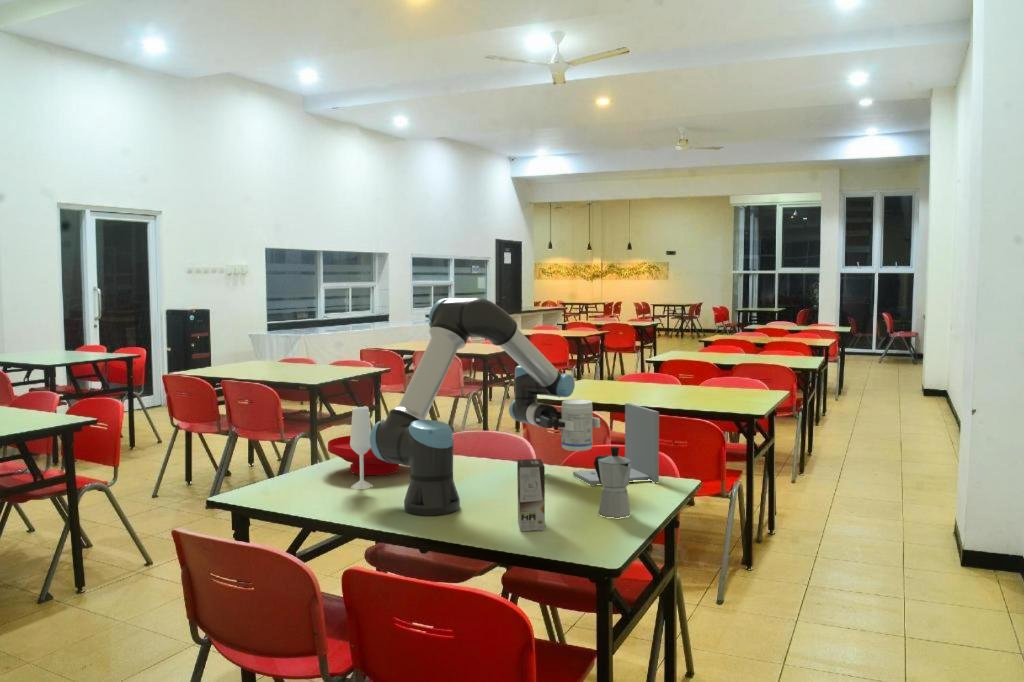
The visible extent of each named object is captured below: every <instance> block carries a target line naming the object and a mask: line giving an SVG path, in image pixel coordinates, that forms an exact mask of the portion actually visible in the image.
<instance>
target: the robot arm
mask: <svg viewBox="0 0 1024 682" xmlns="http://www.w3.org/2000/svg"><path fill="white" fill-rule="evenodd" d="M428 319H429V321H428V325H429V328H430V329H429V334H430V337H431V338H430V340H429V342H428V343H427V347H426V348H425V351H424V352H423V355H422V357H421V359H420V361H419V363H418V364H417V367H416V369H415V371H414V373H413V375H412V377H411V379H410V382H409V384H408V385H407V387H406V390H405V391H404V394H403V396H402V398H401V399H400V402H399V403H398V406H397V407H394V408H391V409H390V410H389V412H388V414H387V417H386V419H380V421H377V422H376V423H375V424H374V425H373V426H372V427H371V434H370V445H371V449H372V451H373V453H374V455H375V456H376V457H377V458H379V459H380V460H383V461H386V462H388V463H396V464H399V465H401V466H406V467H409V474H410V475H409V484H408V487H407V490H406V494H405V497H404V501H403V509H404V512H407V513H408V514H411V515H416V516H417V515H418V516H441V515H447V514H451V513H455V512H456V511H458V510H460V508H461V499H460V495H459V492H458V490H457V487H456V484H455V480H454V442H455V441H454V437H453V436H454V434H453V429H452V427H451V425H449V424H448V423H446V422H443V421H440V420H439V421H438V420H433V419H432V420H430V419H427V416H428V414H429V412H430V409H431V407H432V405H433V404H434V401H435V399H436V397H437V394H438V393H439V390H440V388H441V386H442V384H443V382H444V380H445V378H446V376H447V373H448V371H449V369H450V367H451V365H452V362H453V360H454V358H455V356H456V354H457V352H458V350H460V349H464V348H465V347H466V344H467V342H468V340H469V338H470V337H471V338H481V339H485V340H487V341H489V342H491V344H492V345H494V346H496V347H500V348H501V349H502V350H503V351H504V352H505V353H506V354H507V355H508V356H509V357H510V358H512V359H513V360H514V361H515V362H516V364H517V366H516V367H515V368H514V378H513V379H514V399H513V401H511V403H510V404H509V407H508V413H509V416H510V417H511V418H512V419H513V420H514V421H516V422H518V423H522V424H526V425H527V424H529V425H533V426H536V428H539V427H541V428H544V429H552V428H553V430H554V431H559V429H561V430H562V429H565V430H569V431H574V422H572V421H568V420H563V419H562V410H561V411H560V410H559V411H558V408H556V407H555V406H554V405H552V404H551V405H550V404H546V403H543V402H538V395H539V396H548V397H549V396H550V397H558V398H569V397H570V396H572V394H573V393H574V391H575V385H576V383H575V379H574V377H573V376H572V375H571V374H568V373H561V372H560V371H559V370H558V369H557V368H556V367H555V366H554V365H553V364H552V363H551V361H550V360H549V359H548V358H546V356H545V355H544V354H543V353H542V352H541V351H540V350H539V349H538V348H537V346H535V345H534V344H533V342H532V341H531V340H529V339H528V337H526V335H524V333H522V331H520V329H519V328H518V322H517V321H516V320H515V319H514V318H513V316H511V314H509V313H508V312H507V311H505V309H503V308H502V307H501V306H499V305H497V304H496V303H495V302H493V301H491V300H489V299H486V298H483V297H453V296H452V297H448V298H445V297H444V298H441V299H439V300H438V301H437V302H435V303H434V305H433V306H432V307H431V308H430V311H429V314H428ZM592 428H601V418H599V417H594V416H593V418H592Z"/></svg>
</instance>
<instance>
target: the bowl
mask: <svg viewBox="0 0 1024 682" xmlns="http://www.w3.org/2000/svg"><path fill="white" fill-rule="evenodd" d="M350 437H351V434H350V435H345V436H341V437H340V436H339V437H336V438H332V439H330V440H328V442H327V451H328V453H330V454H333V455H334V456H337V457H338V458H341V459H342V460H344V461H346V462H348V463H351V464H350V469H349V470H350V472H351V473H352V474H355V475H360V455H359V454H357V453H356V452H355V451H354V450H353V449H352V448H351V446H350ZM363 460H364V476H383V475H389V473H390V474H393V472H394V473H397V472H398V471H400V464H396V463H388V462H386V461H383V460H380V459H379V458H377V457H376V456H375V455H374V453H373V451H372V449H371V448H370V449H369V450H368V451H367V452H366V453H365V454H364V455H363ZM396 471H397V472H396Z"/></svg>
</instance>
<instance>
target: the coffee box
mask: <svg viewBox="0 0 1024 682" xmlns="http://www.w3.org/2000/svg"><path fill="white" fill-rule="evenodd" d="M516 462H517V463H516V465H517V468H516V469H517V470H516V471H517V472H516V473H517V477H516V478H517V524H518V528H519V531H520V532H532V531H531V530H544V531H545V530H546V528H545V526H546V520H545V519H546V516H545V515H546V514H545V513H546V511H545V505H546V502H545V501H546V499H545V498H546V497H545V496H546V495H545V494H546V491H545V489H546V488H545V486H546V485H545V483H546V482H545V481H546V479H545V478H546V477H545V473H546V471H545V469H546V467H545V464H544V462H543V461H542V459H541V458H533V459H532V458H529V459H528V458H527V459H517V460H516Z"/></svg>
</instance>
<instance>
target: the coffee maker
mask: <svg viewBox="0 0 1024 682" xmlns="http://www.w3.org/2000/svg"><path fill="white" fill-rule="evenodd" d="M619 451H620V447H619V446H610V452H611V454H605V455H597V456H595V459H594V461H593V466H594V468H595V469H594V470H596V472H597V475H598V478H599V481H600V484H602V485H601V486H602V490H601V496H600V504H599V508H598V514H600V515H602V516H605V517H614V518H620V517H626V516H629V515H630V512H631V508H630V500H629V493H628V489H627V487H628V486H629V484H630V483H629V477H630V470H631V462H632V461H631V460H629V459H628V458H625V456H620V455H619ZM630 516H631V515H630Z"/></svg>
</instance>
